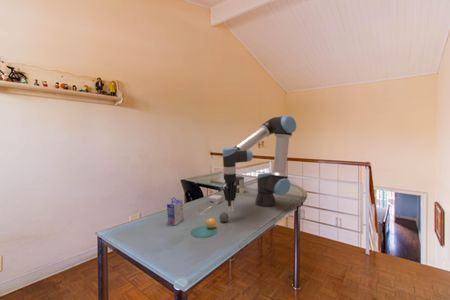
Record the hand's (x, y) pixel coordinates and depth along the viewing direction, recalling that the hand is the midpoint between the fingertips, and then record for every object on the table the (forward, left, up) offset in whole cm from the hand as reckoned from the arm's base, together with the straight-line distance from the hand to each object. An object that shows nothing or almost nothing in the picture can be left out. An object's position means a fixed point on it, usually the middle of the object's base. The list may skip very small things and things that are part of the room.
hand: (231, 210), depth 136 cm
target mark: (+17, +17, -5) cm, 24 cm away
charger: (+7, -39, -6) cm, 40 cm away
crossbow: (+16, -17, -6) cm, 24 cm away
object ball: (+13, +12, -2) cm, 18 cm away
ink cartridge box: (+34, 0, -5) cm, 34 cm away
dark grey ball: (+5, +4, -2) cm, 7 cm away
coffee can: (-14, -62, -5) cm, 64 cm away
